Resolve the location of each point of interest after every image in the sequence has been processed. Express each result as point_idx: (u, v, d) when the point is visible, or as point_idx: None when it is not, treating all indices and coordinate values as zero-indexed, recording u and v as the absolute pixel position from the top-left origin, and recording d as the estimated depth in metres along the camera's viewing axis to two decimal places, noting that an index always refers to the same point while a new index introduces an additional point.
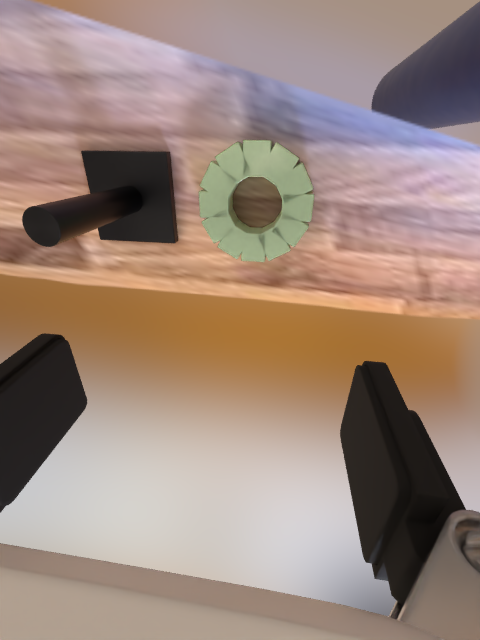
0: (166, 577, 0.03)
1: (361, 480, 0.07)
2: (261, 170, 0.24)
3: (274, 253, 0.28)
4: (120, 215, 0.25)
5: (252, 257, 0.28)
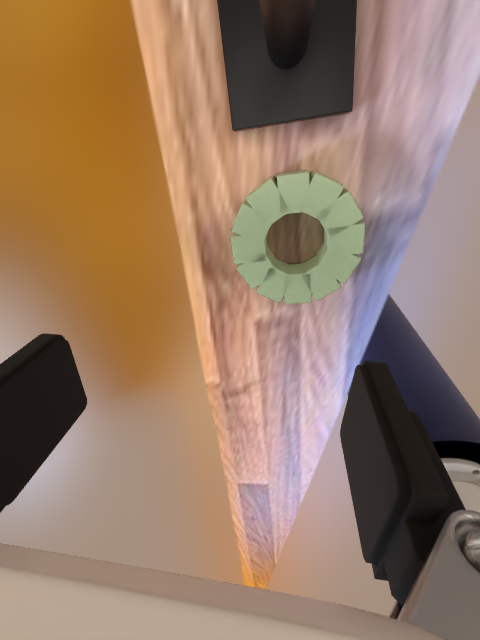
0: (166, 577, 0.03)
1: (361, 480, 0.07)
2: (333, 247, 0.22)
3: (246, 273, 0.24)
4: (275, 46, 0.15)
5: (237, 249, 0.23)
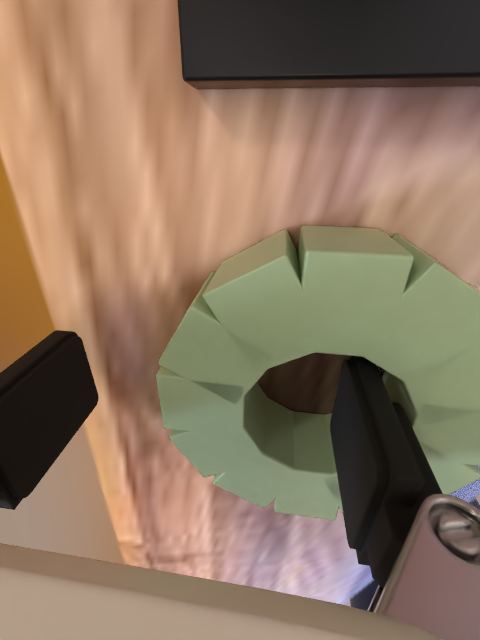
0: (166, 577, 0.03)
1: (347, 470, 0.08)
2: (422, 444, 0.08)
3: (191, 449, 0.10)
4: None
5: (171, 404, 0.09)
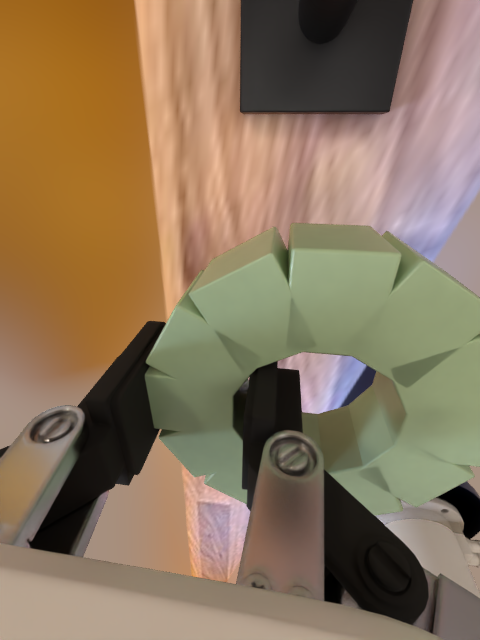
0: (166, 577, 0.03)
1: None
2: (413, 444, 0.08)
3: (181, 449, 0.10)
4: (314, 4, 0.11)
5: (160, 403, 0.09)
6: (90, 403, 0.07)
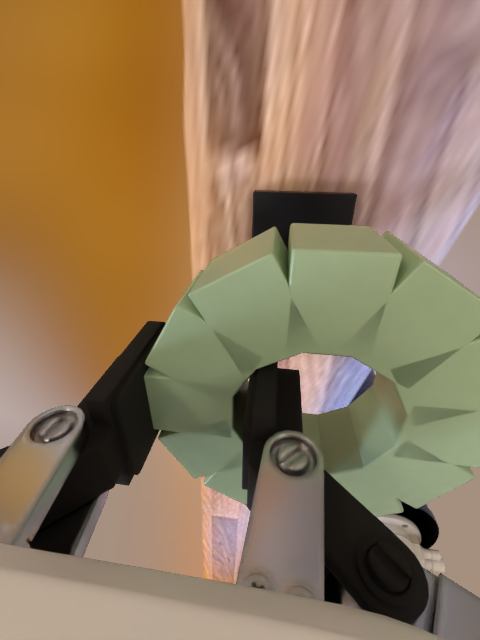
0: (166, 577, 0.03)
1: None
2: (414, 445, 0.08)
3: (181, 450, 0.10)
4: None
5: (159, 404, 0.09)
6: (90, 403, 0.07)
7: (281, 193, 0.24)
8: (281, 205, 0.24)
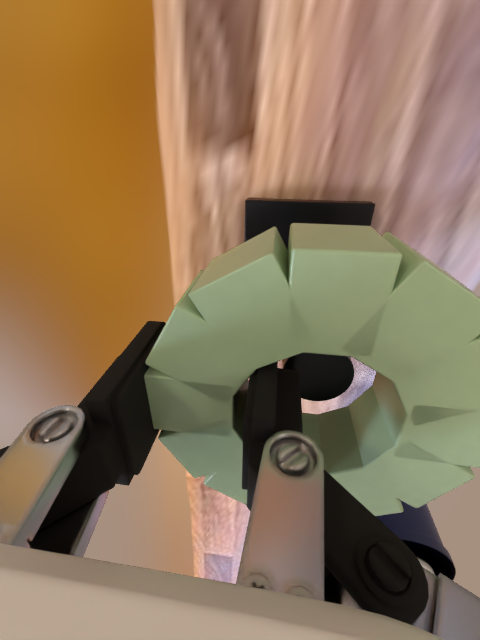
0: (166, 577, 0.03)
1: None
2: (414, 445, 0.08)
3: (181, 450, 0.10)
4: None
5: (159, 404, 0.09)
6: (90, 403, 0.07)
7: (280, 202, 0.19)
8: (280, 217, 0.19)
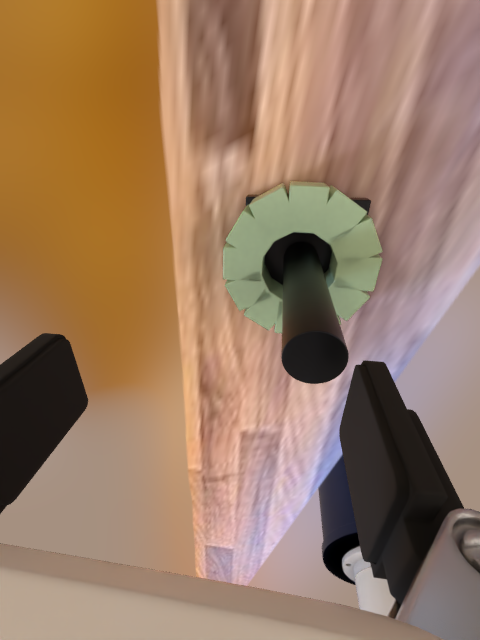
0: (166, 577, 0.03)
1: (360, 479, 0.07)
2: (341, 279, 0.19)
3: (235, 292, 0.21)
4: None
5: (228, 263, 0.20)
6: None
7: None
8: None
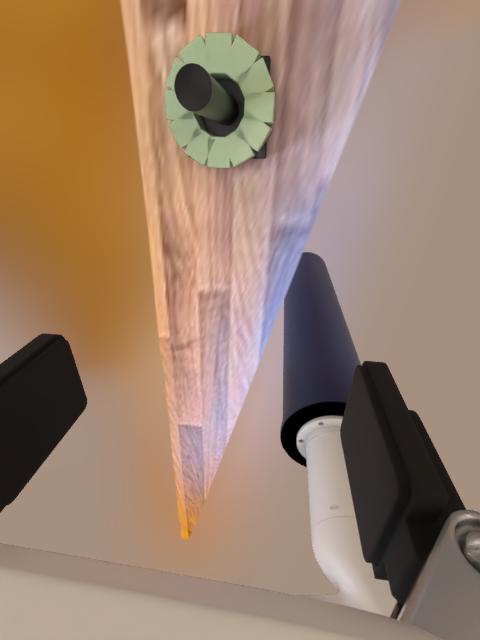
0: (166, 577, 0.03)
1: (361, 480, 0.07)
2: (249, 113, 0.27)
3: (176, 130, 0.28)
4: None
5: (169, 104, 0.27)
6: None
7: None
8: None
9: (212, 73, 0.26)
